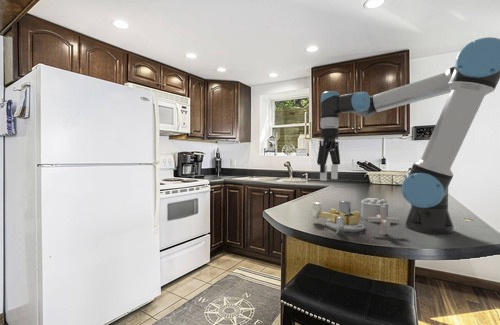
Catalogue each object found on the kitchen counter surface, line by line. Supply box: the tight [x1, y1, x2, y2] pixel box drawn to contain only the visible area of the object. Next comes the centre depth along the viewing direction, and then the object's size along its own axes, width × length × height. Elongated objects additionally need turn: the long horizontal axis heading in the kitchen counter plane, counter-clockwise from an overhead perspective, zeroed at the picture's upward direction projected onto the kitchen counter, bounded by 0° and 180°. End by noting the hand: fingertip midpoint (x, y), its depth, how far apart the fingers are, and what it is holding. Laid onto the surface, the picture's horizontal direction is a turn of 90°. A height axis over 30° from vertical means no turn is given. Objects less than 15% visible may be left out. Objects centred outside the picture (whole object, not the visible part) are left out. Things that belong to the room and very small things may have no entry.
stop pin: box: [335, 217, 344, 236], centre depth 91 cm, size 2×2×6 cm
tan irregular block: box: [312, 201, 361, 225], centre depth 103 cm, size 18×11×6 cm, turn 57°
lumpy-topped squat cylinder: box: [360, 197, 389, 220], centre depth 116 cm, size 10×13×9 cm
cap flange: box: [325, 200, 365, 233], centre depth 101 cm, size 14×14×10 cm
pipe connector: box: [366, 206, 400, 236], centre depth 91 cm, size 10×10×10 cm
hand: (329, 179), depth 111 cm, fingers open, 10 cm apart
